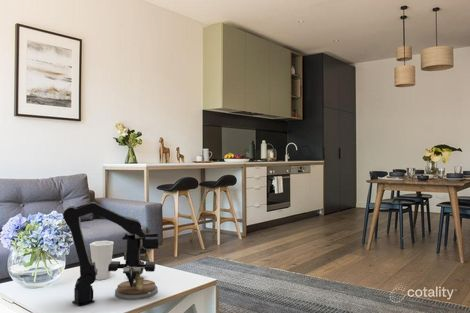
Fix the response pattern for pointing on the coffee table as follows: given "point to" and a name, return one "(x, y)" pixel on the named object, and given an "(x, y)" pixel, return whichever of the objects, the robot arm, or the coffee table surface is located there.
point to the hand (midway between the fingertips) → (131, 286)
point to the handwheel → (136, 287)
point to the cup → (102, 257)
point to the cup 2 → (140, 271)
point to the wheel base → (137, 296)
